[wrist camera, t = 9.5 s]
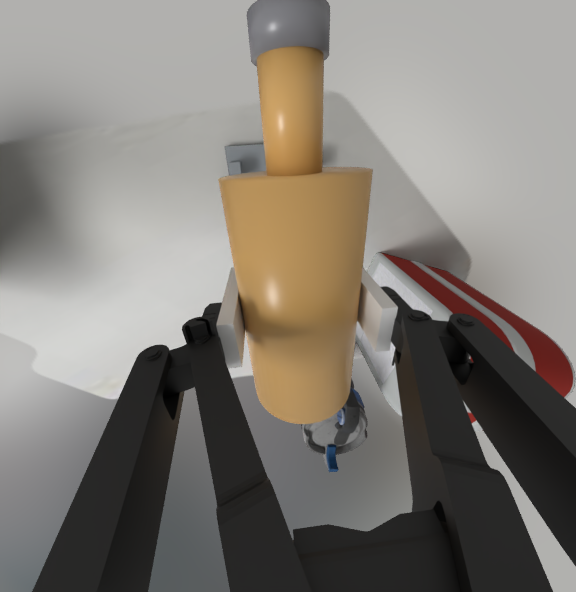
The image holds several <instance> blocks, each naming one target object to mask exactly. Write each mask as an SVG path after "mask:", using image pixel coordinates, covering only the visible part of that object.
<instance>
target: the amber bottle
mask: <svg viewBox="0 0 576 592" xmlns="http://www.w3.org/2000/svg"><path fill="white" fill-rule="evenodd" d="M247 21H248V32H249V43H250V52H251V62H252V63H253V64H254V65H255V66H257V71H258V83H259V94H260V105H261V116H262V128H263V139H264V150H265V161H266V171H260V172H251V173H243V174H236V175H230V176H226V177H222V178H219V179H218V180H219V186H220V191H221V197H222V202H223V208H224V214H225V219H226V225H227V230H228V236H229V241H230V247H231V253H232V258H233V264H234V269H235V275H236V280H237V286H238V291H239V297H240V303H241V308H242V314H243V319H244V325H245V330H246V336H247V341H248V347H249V353H250V358H251V364H252V369H253V375H254V380H255V386H256V391H257V395H258V398H259V400H260V402H261V404H262V405H263V406H264V408H265V409H266V410H267V411H268V412H270V413H271V414H272V415H273V416H275V417H277V418H279V419H281V420H284V421H287V422H290V423H296V424H311V423H316V422H320V421H323V420H326V419H328V418H330V417H331V416H333V415H334V414H336V413H337V412H338V411H339V410H340V409H341V408H342V407H343V406H344V404H345V403H346V401H347V399H348V396H349V393H350V386H351V376H352V366H353V357H354V347H355V337H356V327H357V318H358V308H359V298H360V288H361V279H362V269H363V259H364V250H365V240H366V230H367V220H368V211H369V201H370V191H371V181H372V172H373V170H372V169H369V168H360V167H322V159H323V72H324V66H323V65H324V60H326V59H327V57H328V56H329V30H330V6H329V3H328V2H327V1H326V0H258V1H256V2H255V3H254V4H252V5H251V7H250V8H249V9H248V11H247Z"/></svg>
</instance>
